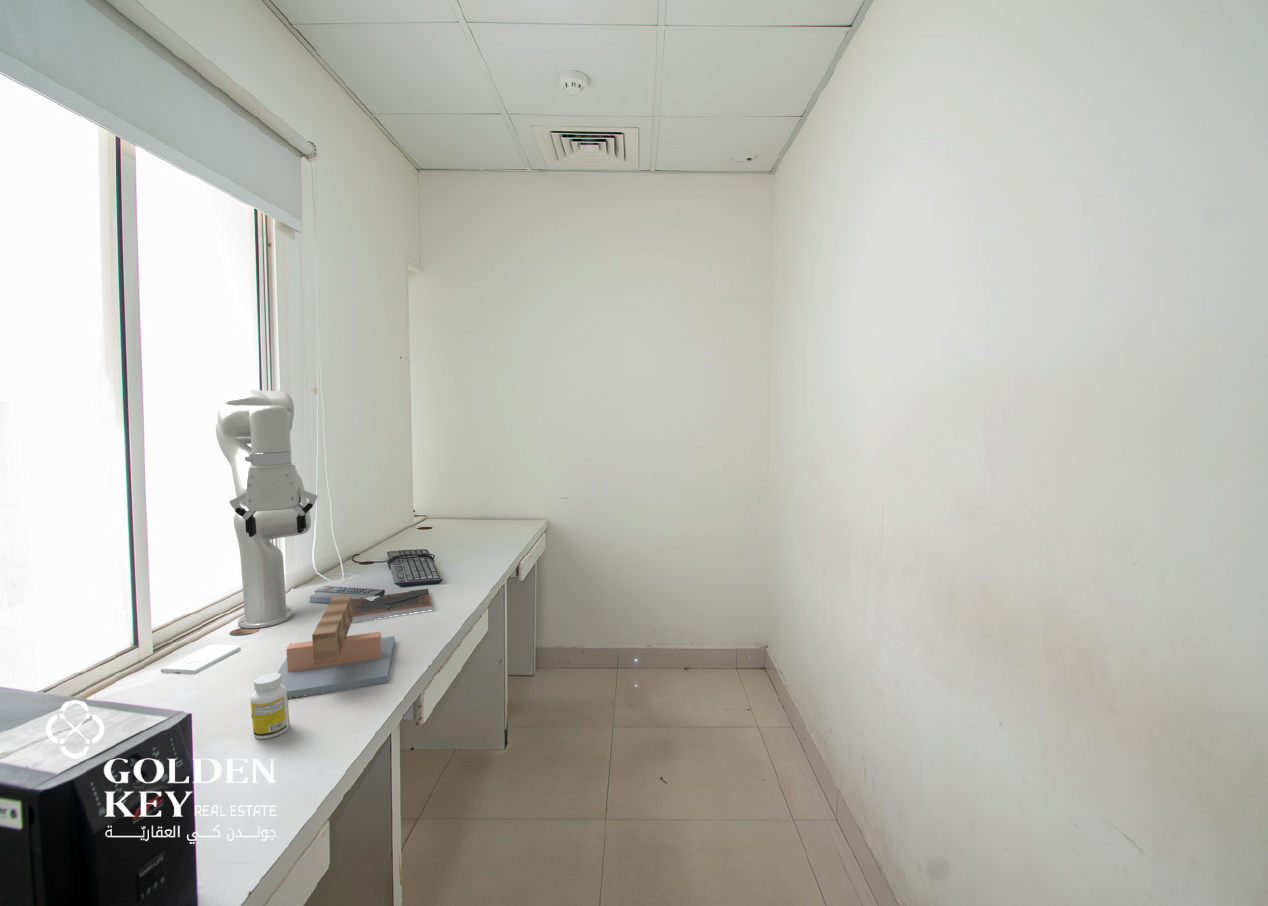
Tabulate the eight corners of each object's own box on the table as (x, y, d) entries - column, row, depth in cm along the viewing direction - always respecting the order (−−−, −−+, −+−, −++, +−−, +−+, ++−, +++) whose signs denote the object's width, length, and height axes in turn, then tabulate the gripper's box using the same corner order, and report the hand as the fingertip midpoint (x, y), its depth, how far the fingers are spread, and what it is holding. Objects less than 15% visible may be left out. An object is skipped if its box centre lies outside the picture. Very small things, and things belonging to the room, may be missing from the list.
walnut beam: (334, 622, 134) (332, 597, 133) (352, 619, 135) (351, 595, 135) (313, 664, 111) (312, 635, 111) (336, 661, 113) (334, 632, 112)
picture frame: (428, 596, 174) (349, 607, 165) (427, 588, 173) (349, 598, 165) (432, 613, 159) (346, 626, 150) (432, 605, 158) (345, 617, 150)
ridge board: (291, 656, 130) (289, 629, 130) (394, 642, 138) (393, 616, 137) (264, 702, 110) (262, 670, 109) (387, 682, 117) (386, 652, 116)
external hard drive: (240, 652, 135) (194, 676, 122) (209, 651, 136) (160, 675, 123) (240, 645, 134) (193, 669, 122) (209, 644, 135) (160, 667, 123)
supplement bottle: (264, 723, 102) (260, 671, 101) (295, 722, 103) (292, 669, 102) (246, 741, 97) (242, 686, 96) (279, 739, 97) (275, 684, 96)
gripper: (221, 463, 123) (227, 540, 124) (311, 459, 128) (316, 533, 130) (233, 460, 130) (238, 533, 131) (318, 457, 135) (322, 527, 137)
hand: (277, 533), depth 130 cm, fingers open, 9 cm apart
